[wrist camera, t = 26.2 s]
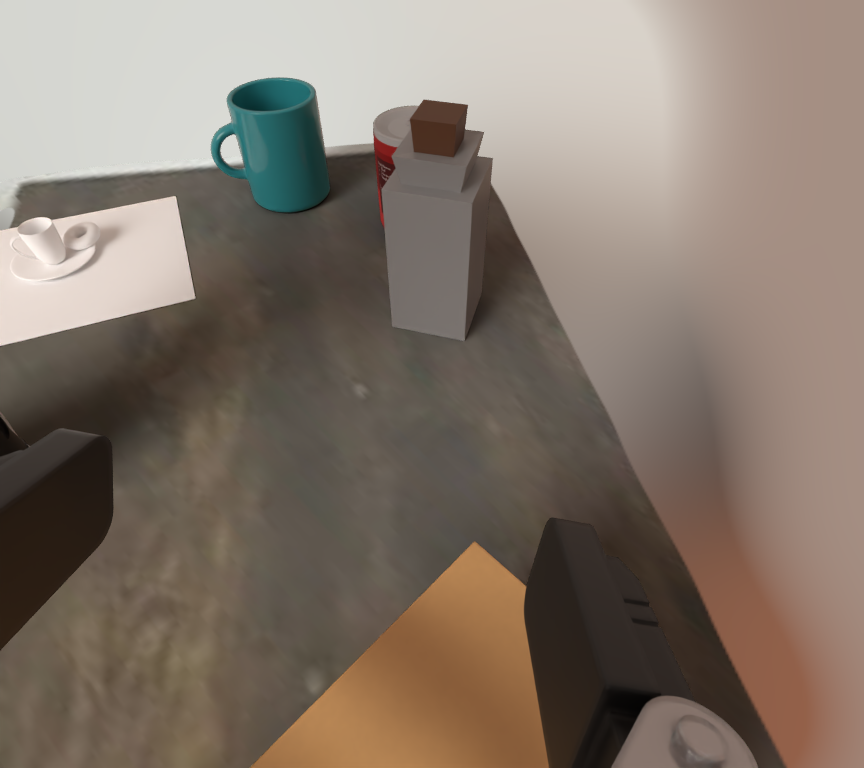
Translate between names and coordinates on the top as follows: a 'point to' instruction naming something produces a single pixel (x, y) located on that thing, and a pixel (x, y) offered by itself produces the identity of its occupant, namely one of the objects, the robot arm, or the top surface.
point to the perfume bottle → (437, 222)
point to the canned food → (389, 143)
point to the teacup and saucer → (91, 268)
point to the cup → (277, 143)
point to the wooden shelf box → (433, 686)
